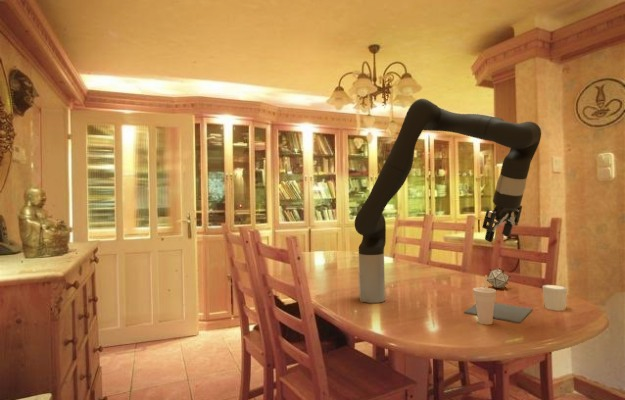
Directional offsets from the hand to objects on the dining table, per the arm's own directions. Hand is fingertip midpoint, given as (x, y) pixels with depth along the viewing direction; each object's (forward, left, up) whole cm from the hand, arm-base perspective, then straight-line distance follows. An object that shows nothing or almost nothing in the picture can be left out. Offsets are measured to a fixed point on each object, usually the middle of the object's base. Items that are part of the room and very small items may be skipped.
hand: (497, 237), depth 116 cm
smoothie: (-7, -7, -24) cm, 26 cm away
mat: (+1, +3, -24) cm, 24 cm away
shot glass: (+21, +6, -24) cm, 32 cm away
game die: (+15, +33, -24) cm, 43 cm away
